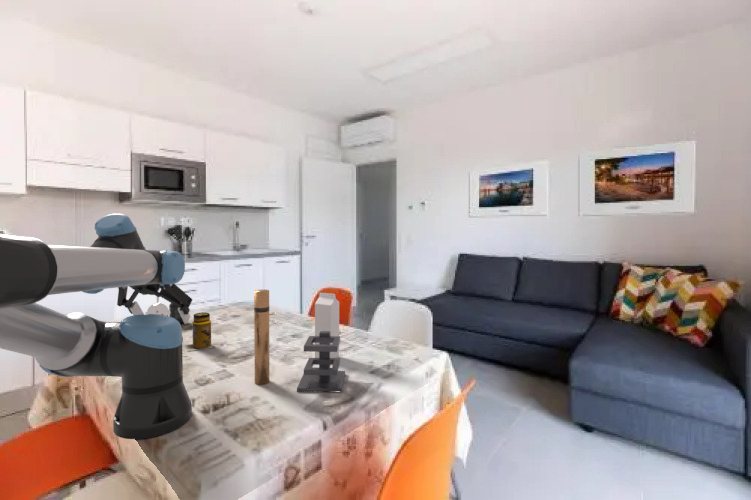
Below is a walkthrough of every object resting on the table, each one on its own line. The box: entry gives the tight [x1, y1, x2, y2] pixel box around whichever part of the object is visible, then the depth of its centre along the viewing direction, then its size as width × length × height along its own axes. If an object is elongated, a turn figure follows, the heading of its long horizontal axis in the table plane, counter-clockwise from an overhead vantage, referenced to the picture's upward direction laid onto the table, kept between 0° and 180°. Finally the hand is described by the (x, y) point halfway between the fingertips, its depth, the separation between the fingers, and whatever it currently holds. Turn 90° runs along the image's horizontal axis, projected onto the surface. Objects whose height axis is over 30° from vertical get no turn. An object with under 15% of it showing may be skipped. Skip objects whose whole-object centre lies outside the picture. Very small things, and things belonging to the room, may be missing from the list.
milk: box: [314, 292, 340, 358], centre depth 123 cm, size 6×6×22 cm
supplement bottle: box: [168, 302, 185, 326], centre depth 162 cm, size 7×7×12 cm
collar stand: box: [296, 331, 346, 393], centre depth 104 cm, size 12×12×13 cm
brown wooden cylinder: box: [253, 289, 271, 386], centre depth 104 cm, size 4×4×26 cm
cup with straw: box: [144, 288, 171, 316], centre depth 140 cm, size 8×9×20 cm
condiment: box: [184, 311, 214, 352], centre depth 133 cm, size 7×8×12 cm
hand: (164, 319), depth 111 cm, fingers open, 13 cm apart
